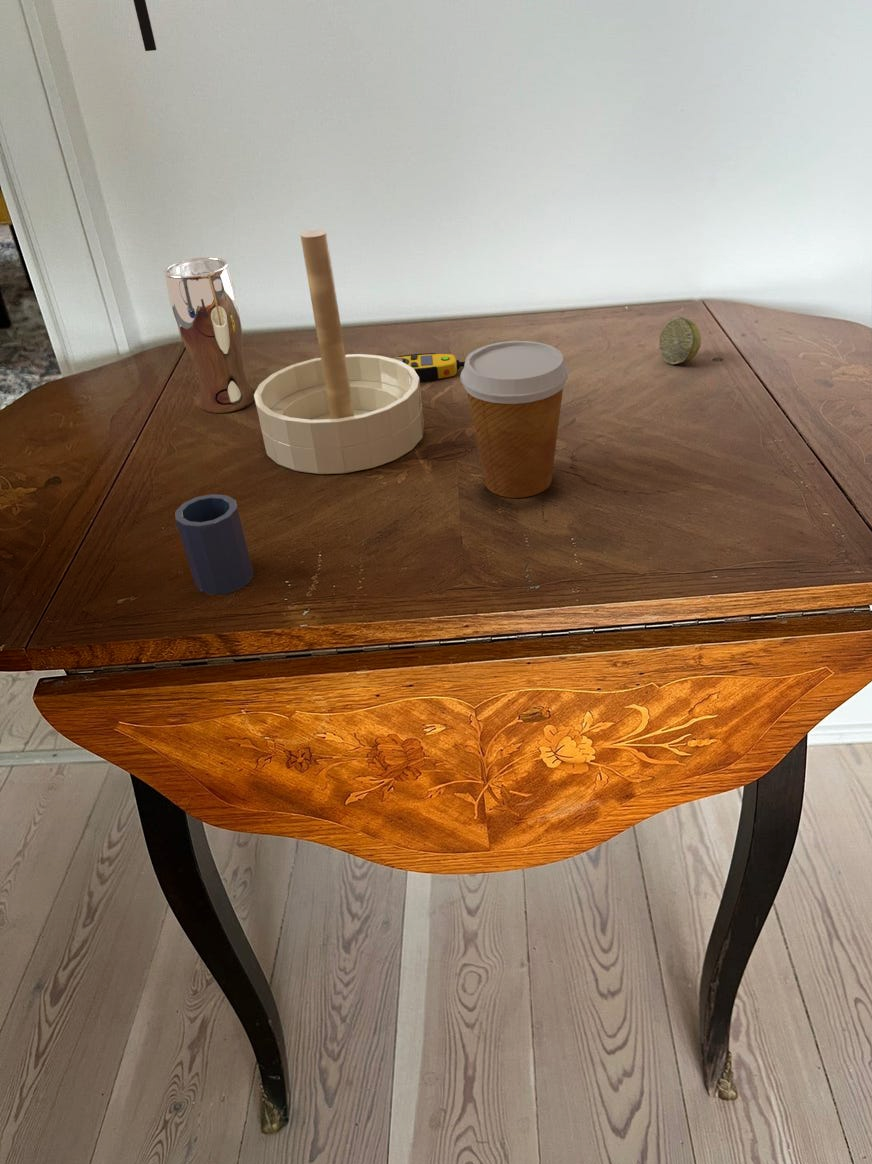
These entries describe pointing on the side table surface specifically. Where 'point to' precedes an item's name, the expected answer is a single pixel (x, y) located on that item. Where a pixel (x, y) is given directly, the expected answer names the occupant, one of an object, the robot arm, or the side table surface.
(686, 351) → the lime
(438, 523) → the side table surface
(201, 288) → the beer glass
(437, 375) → the yellow handheld meter
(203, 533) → the holder
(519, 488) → the disposable coffee cup
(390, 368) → the bowl
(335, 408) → the stick
